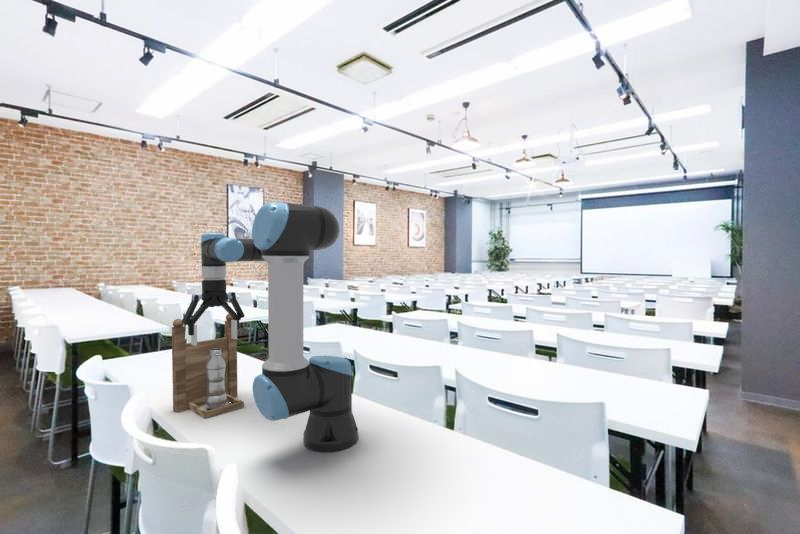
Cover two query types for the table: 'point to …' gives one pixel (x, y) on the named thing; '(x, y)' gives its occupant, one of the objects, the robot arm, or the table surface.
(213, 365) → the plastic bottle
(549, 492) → the table surface
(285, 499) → the table surface
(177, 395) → the headboard holder
